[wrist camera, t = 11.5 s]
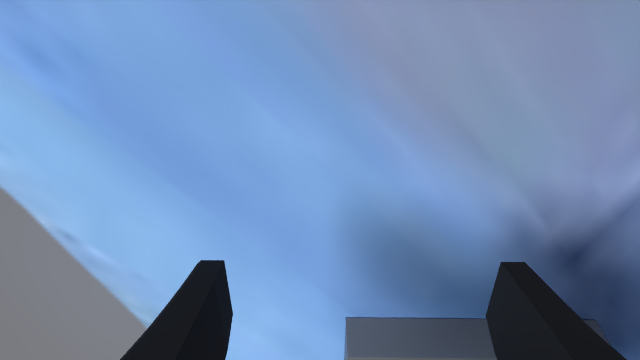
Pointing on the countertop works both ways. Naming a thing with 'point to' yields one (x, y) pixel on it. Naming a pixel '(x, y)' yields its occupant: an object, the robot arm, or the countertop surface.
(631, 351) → the countertop surface
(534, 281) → the robot arm
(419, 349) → the low pen
